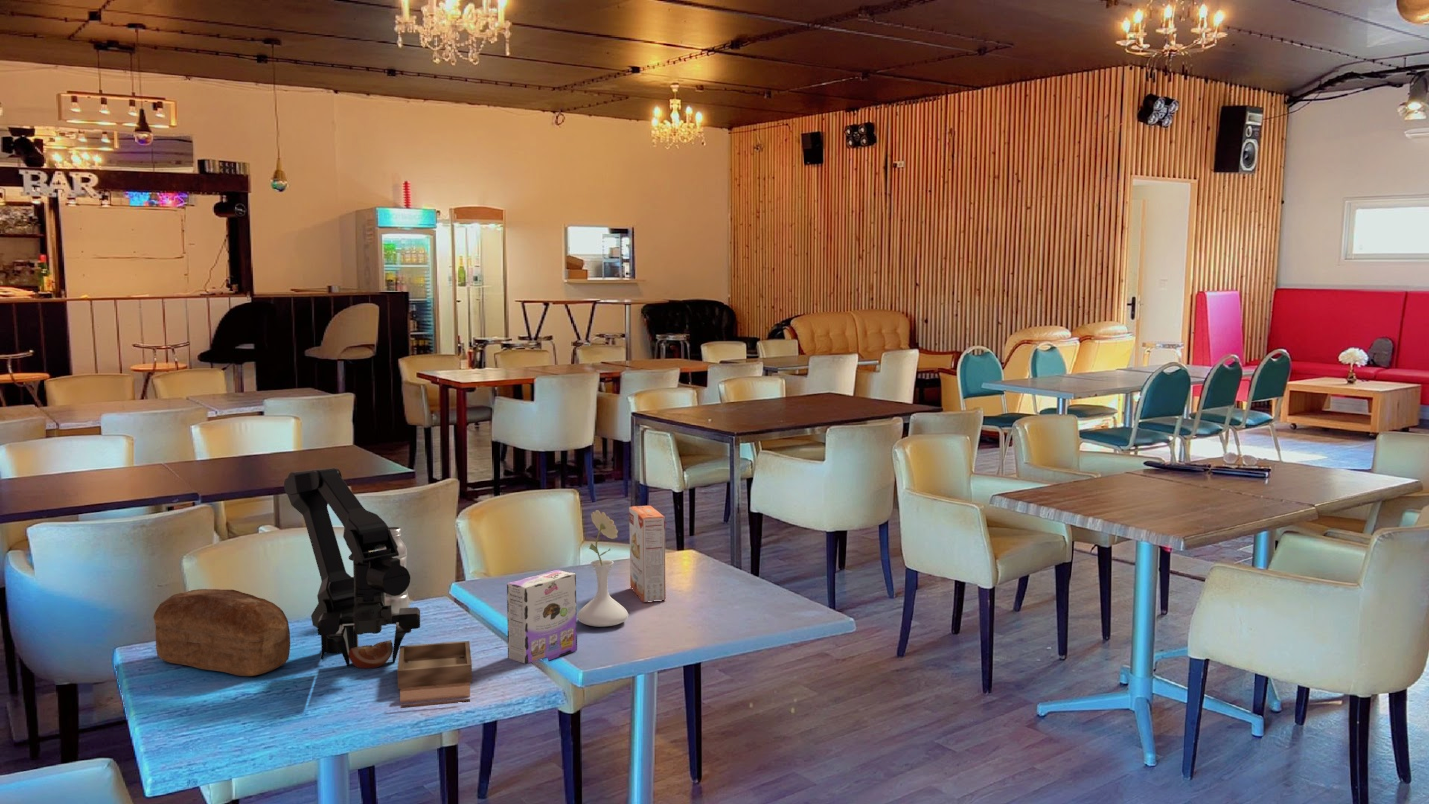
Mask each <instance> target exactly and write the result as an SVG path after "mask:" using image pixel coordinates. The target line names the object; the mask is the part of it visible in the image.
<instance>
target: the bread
mask: <svg viewBox="0 0 1429 804" xmlns="http://www.w3.org/2000/svg"><path fill="white" fill-rule="evenodd" d="M153 622H154V623H155V649H156V656H157V657H158V658H160V659H161V660H162V661H165V662H167V663H170V664H177V665H184V666H188V667H194V668H196V669H201V670H207V671H216V672H222V673H227V674H230V675H235V676H238V677H239V676H240V677H254V676H259V675H262V674H266V673H269V672H272V671H273V670H277V669H278V668H279V667H281V666H283V665H285V664H287V663H286V662H287V661H289V658H290V651H291V631H290V626H289V620H288V618H287V616H286V614H285V612H284V610H282V609H281V608H280V607H279V606H278V605H276V604H275V603H273V602H272V601H270V600H268V599H265V598H261V597H257V596H255V595H252V594H249V593H246V592H242V591H239V590H236V589H219V588H218V589H217V588H213V589H212V588H199V589H192V590H188V591H185V592H179V593H176V594H172V595H171V596H170V597H168V598H167V599H165V600H164V601H162V602H161V603H160V604H159V606H157V609H156V610H155V612H154V613H153Z"/></svg>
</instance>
